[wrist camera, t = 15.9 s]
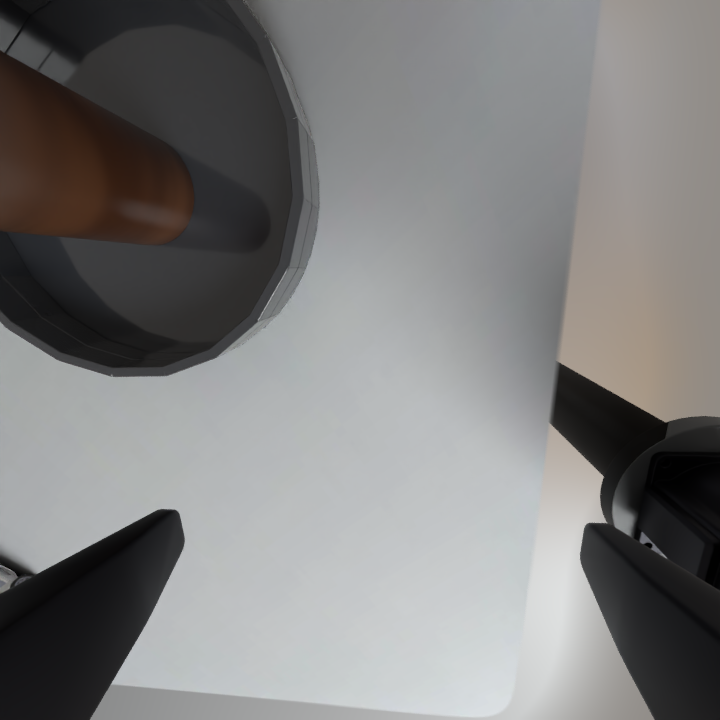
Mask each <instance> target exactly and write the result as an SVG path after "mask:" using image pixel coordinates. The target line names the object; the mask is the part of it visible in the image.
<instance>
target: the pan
mask: <svg viewBox="0 0 720 720" xmlns="http://www.w3.org/2000/svg"><path fill="white" fill-rule="evenodd" d="M0 51H2V52H4V53H6V54H8V55H9V56H11V57H13V58H15V59H17V60H18V61H20V62H22V63H24V64H26V65H27V66H29V67H31V68H33V69H35V70H36V71H38V72H40V73H42V74H44V75H45V76H47V77H49V78H51V79H53V80H54V81H56V82H58V83H60V84H62V85H63V86H65V87H67V88H69V89H71V90H72V91H74V92H76V93H78V94H80V95H81V96H83V97H85V98H87V99H89V100H90V101H92V102H94V103H96V104H98V105H99V106H101V107H103V108H105V109H107V110H108V111H110V112H112V113H114V114H116V115H117V116H119V117H121V118H123V119H125V120H126V121H128V122H130V123H132V124H134V125H135V126H137V127H139V128H141V129H143V130H144V131H146V132H148V133H150V134H152V135H153V136H155V137H157V138H159V139H161V140H162V141H164V142H165V143H167V144H168V145H169V146H170V147H172V148H173V149H174V150H175V151H176V152H177V154H178V155H179V156H180V157H181V159H182V160H183V162H184V164H185V165H186V167H187V169H188V171H189V174H190V177H191V180H192V184H193V189H194V207H193V212H192V216H191V219H190V221H189V223H188V225H187V227H186V228H185V230H184V231H183V232H182V233H181V234H180V235H179V236H178V237H177V238H175V239H174V240H172V241H170V242H168V243H165V244H162V245H140V244H130V243H119V242H109V241H98V240H88V239H77V238H67V237H56V236H46V235H35V234H25V233H14V232H4V231H0V322H1V323H2V324H3V325H4V326H5V327H6V328H8V329H9V330H10V331H12V332H13V333H15V334H17V335H18V336H20V337H21V338H23V339H25V340H26V341H28V342H29V343H31V344H33V345H34V346H36V347H37V348H39V349H41V350H42V351H44V352H45V353H47V354H49V355H50V356H52V357H53V358H55V359H57V360H59V361H62V362H65V363H68V364H72V365H75V366H78V367H81V368H85V369H88V370H91V371H95V372H98V373H101V374H105V375H108V376H113V377H143V376H168V375H171V374H174V373H177V372H179V371H182V370H185V369H187V368H190V367H193V366H196V365H198V364H201V363H204V362H207V361H209V360H212V359H215V358H217V357H219V356H221V355H223V354H225V353H227V352H229V351H231V350H233V349H235V348H237V347H239V346H241V345H242V344H244V343H245V342H246V341H247V340H249V339H250V338H251V337H252V336H254V335H255V334H256V333H257V332H259V331H260V330H261V329H263V328H264V327H265V326H267V325H268V324H269V322H270V321H271V320H272V319H273V318H275V317H276V316H277V315H278V314H279V313H280V311H281V310H282V308H283V307H284V306H285V304H286V303H287V302H288V300H289V299H290V297H291V296H292V295H293V293H294V291H295V289H296V287H297V285H298V284H299V282H300V280H301V278H302V276H303V274H304V271H305V269H306V266H307V263H308V261H309V258H310V255H311V252H312V248H313V244H314V240H315V235H316V231H317V222H318V214H319V176H318V168H317V160H316V153H315V145H314V141H313V138H312V136H311V132H310V128H309V125H308V122H307V120H306V117H305V114H304V112H303V109H302V106H301V104H300V101H299V99H298V96H297V94H296V91H295V88H294V85H293V82H292V80H291V78H290V76H289V74H288V72H287V70H286V68H285V67H284V65H283V63H282V61H281V59H280V57H279V55H278V54H277V52H276V50H275V48H274V46H273V44H272V42H271V41H270V39H269V37H268V35H267V33H266V32H265V31H264V29H263V28H262V27H261V25H260V24H259V22H258V21H257V20H256V18H255V17H254V15H253V14H252V13H251V11H250V10H249V8H248V7H247V6H246V4H245V3H244V1H243V0H0Z"/></svg>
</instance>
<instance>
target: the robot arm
mask: <svg viewBox="0 0 720 720" xmlns="http://www.w3.org/2000/svg"><path fill="white" fill-rule="evenodd" d="M663 460H665V461H664V462H663V463H661V462H662V461H663ZM184 542H185V538H184V533H183V528H182V523H181V519H180V514H179V513H178V511H177V510H172V509H160V510H157V511H155V512H153V513H151V514H149V515H147V516H145V517H144V518H142V519H140V520H138V521H136V522H134V523H132V524H130V525H129V526H127V527H125V528H123V529H121V530H119V531H117V532H115V533H113V534H112V535H110V536H108V537H106V538H104V539H102V540H100V541H98V542H97V543H95V544H93V545H91V546H89V547H87V548H85V549H83V550H81V551H80V552H78V553H76V554H74V555H72V556H70V557H68V558H66V559H65V560H63V561H61V562H59V563H57V564H55V565H53V566H51V567H49V568H48V569H46V570H44V571H42V572H40V573H38V574H36V575H34V576H33V577H31V578H29V579H27V580H25V581H23V582H21V583H19V584H17V585H16V586H14V587H12V588H10V589H8V590H6V591H4V592H2V593H1V594H0V720H90V718H91V717H92V715H93V713H94V712H95V710H96V708H97V707H98V705H99V703H100V702H101V700H102V698H103V696H104V694H105V693H106V691H107V690H108V688H109V686H110V685H111V683H112V681H113V680H114V678H115V676H116V674H117V673H118V671H119V669H120V668H121V666H122V664H123V663H124V661H125V659H126V657H127V656H128V654H129V652H130V651H131V649H132V647H133V646H134V644H135V642H136V641H137V639H138V637H139V635H140V634H141V632H142V630H143V628H144V627H145V625H146V623H147V621H148V619H149V617H150V615H151V614H152V612H153V610H154V608H155V606H156V604H157V602H158V599H159V597H160V595H161V593H162V591H163V589H164V587H165V585H166V583H167V581H168V579H169V577H170V575H171V573H172V571H173V569H174V567H175V565H176V563H177V560H178V558H179V556H180V554H181V552H182V550H183V547H184ZM660 554H664V555H665V556H666V557H667V558H665V557H663V556H662V555H660ZM580 560H581V564H582V568H583V570H584V572H585V575H586V577H587V579H588V582H589V584H590V586H591V589H592V591H593V593H594V596H595V598H596V600H597V603H598V605H599V607H600V610H601V612H602V614H603V617H604V619H605V621H606V624H607V626H608V628H609V631H610V633H611V635H612V638H613V640H614V642H615V644H616V646H617V648H618V651H619V653H620V655H621V656H622V659H623V661H624V663H625V665H626V667H627V669H628V671H629V673H630V674H631V676H632V678H633V680H634V682H635V684H636V686H637V687H638V689H639V691H640V693H641V695H642V697H643V699H644V701H645V702H646V704H647V706H648V708H649V709H650V712H651V714H652V716H653V717H654V719H655V720H720V452H670V451H661V452H657V453H655V454H654V455H653V456H652V457H651V459H650V464H649V469H648V474H647V479H646V484H645V488H644V493H643V498H642V503H641V508H640V512H639V517H638V522H637V528H636V533H635V537H634V538H632V537H630V536H629V535H627V534H625V533H624V532H622V531H621V530H619V529H617V528H616V527H614V526H612V525H610V524H607V523H588V524H587V525H586V526H585V528H584V533H583V540H582V546H581V552H580Z"/></svg>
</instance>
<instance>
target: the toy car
mask: <svg viewBox="0 0 720 720" xmlns="http://www.w3.org/2000/svg"><path fill="white" fill-rule="evenodd" d="M33 576H34V575H31V574H26V575H22V576H20V577H17V576H16V573H15V572H13V571H12V570H10V569H8V568H6V567H4V566H2V565H0V594H1V593H2V592H4V591H6V590H8V589H10V588H12V587H14V586H16V585H17V584H19V583H21V582H23V581H25V580H27V579H29V578H31V577H33Z"/></svg>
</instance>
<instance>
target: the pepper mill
mask: <svg viewBox="0 0 720 720" xmlns="http://www.w3.org/2000/svg"><path fill="white" fill-rule="evenodd" d="M193 207H194V189H193V184H192V180H191V177H190V174H189V171H188V169H187V167H186V165H185V164H184V162H183V160H182V159H181V157H180V156H179V155H178V154H177V152H176V151H175V150H174V149H173V148H172V147H170V146H169V145H168V144H167V143H165V142H164V141H162V140H161V139H159V138H157V137H155V136H153V135H152V134H150V133H148V132H146V131H144V130H143V129H141V128H139V127H137V126H135V125H134V124H132V123H130V122H128V121H126V120H125V119H123V118H121V117H119V116H117V115H116V114H114V113H112V112H110V111H108V110H107V109H105V108H103V107H101V106H99V105H98V104H96V103H94V102H92V101H90V100H89V99H87V98H85V97H83V96H81V95H80V94H78V93H76V92H74V91H72V90H71V89H69V88H67V87H65V86H63V85H62V84H60V83H58V82H56V81H54V80H53V79H51V78H49V77H47V76H45V75H44V74H42V73H40V72H38V71H36V70H35V69H33V68H31V67H29V66H27V65H26V64H24V63H22V62H20V61H18V60H17V59H15V58H13V57H11V56H9V55H8V54H6V53H4V52H2V51H0V231H4V232H14V233H25V234H35V235H46V236H56V237H67V238H77V239H88V240H98V241H109V242H119V243H130V244H140V245H162V244H165V243H168V242H170V241H172V240H174V239H175V238H177V237H178V236H179V235H180V234H181V233H182V232H183V231H184V230H185V228H186V227H187V225H188V223H189V221H190V219H191V216H192V212H193Z"/></svg>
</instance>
